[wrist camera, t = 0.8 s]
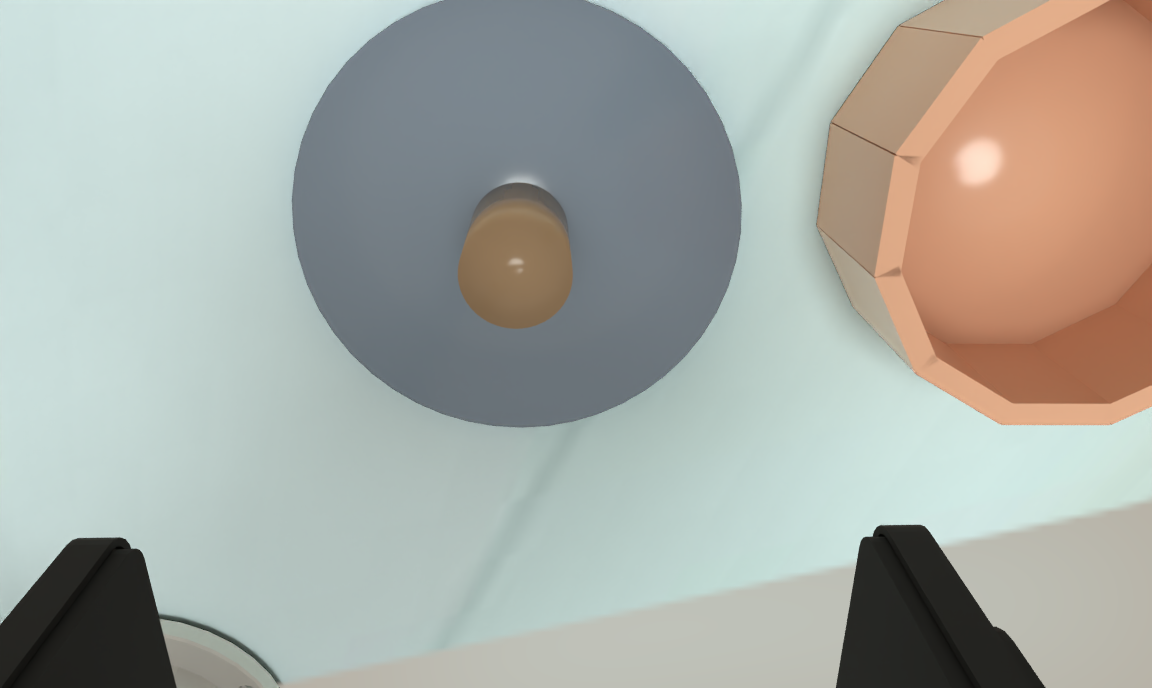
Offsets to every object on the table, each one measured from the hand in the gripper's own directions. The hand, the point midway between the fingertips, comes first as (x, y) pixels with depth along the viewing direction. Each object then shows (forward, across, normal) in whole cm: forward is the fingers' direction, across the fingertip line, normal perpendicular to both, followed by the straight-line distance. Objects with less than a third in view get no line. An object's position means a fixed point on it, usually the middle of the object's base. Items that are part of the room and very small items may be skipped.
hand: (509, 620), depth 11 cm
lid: (+22, +1, +1) cm, 22 cm away
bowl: (+22, -18, -1) cm, 28 cm away
